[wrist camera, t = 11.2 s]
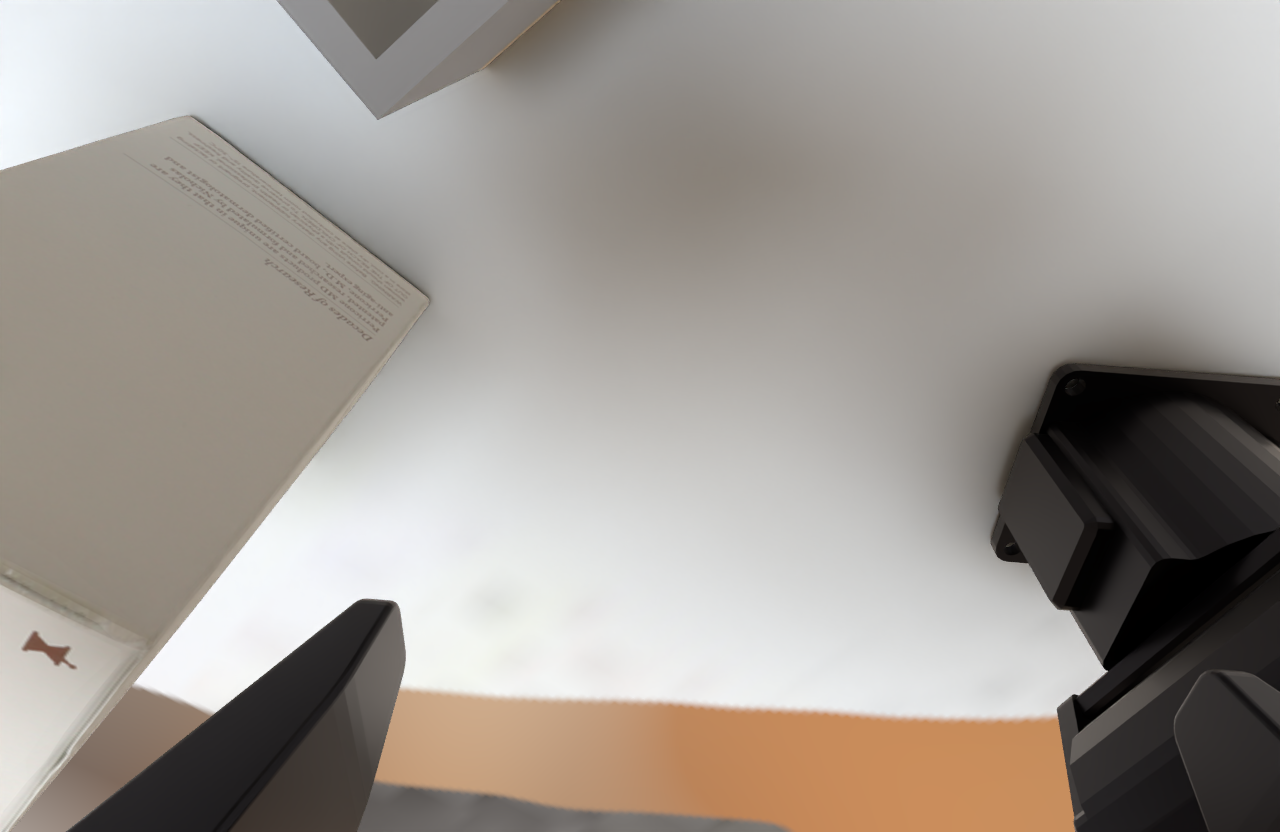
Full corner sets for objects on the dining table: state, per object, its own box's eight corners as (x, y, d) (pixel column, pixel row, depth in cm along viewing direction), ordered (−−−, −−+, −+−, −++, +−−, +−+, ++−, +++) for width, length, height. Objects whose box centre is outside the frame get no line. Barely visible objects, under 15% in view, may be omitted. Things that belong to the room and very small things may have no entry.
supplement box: (187, 102, 19) (-523, 290, 8) (439, 299, 21) (163, 663, 10) (75, 310, 22) (-554, 658, 11) (305, 463, 24) (-19, 881, 13)
